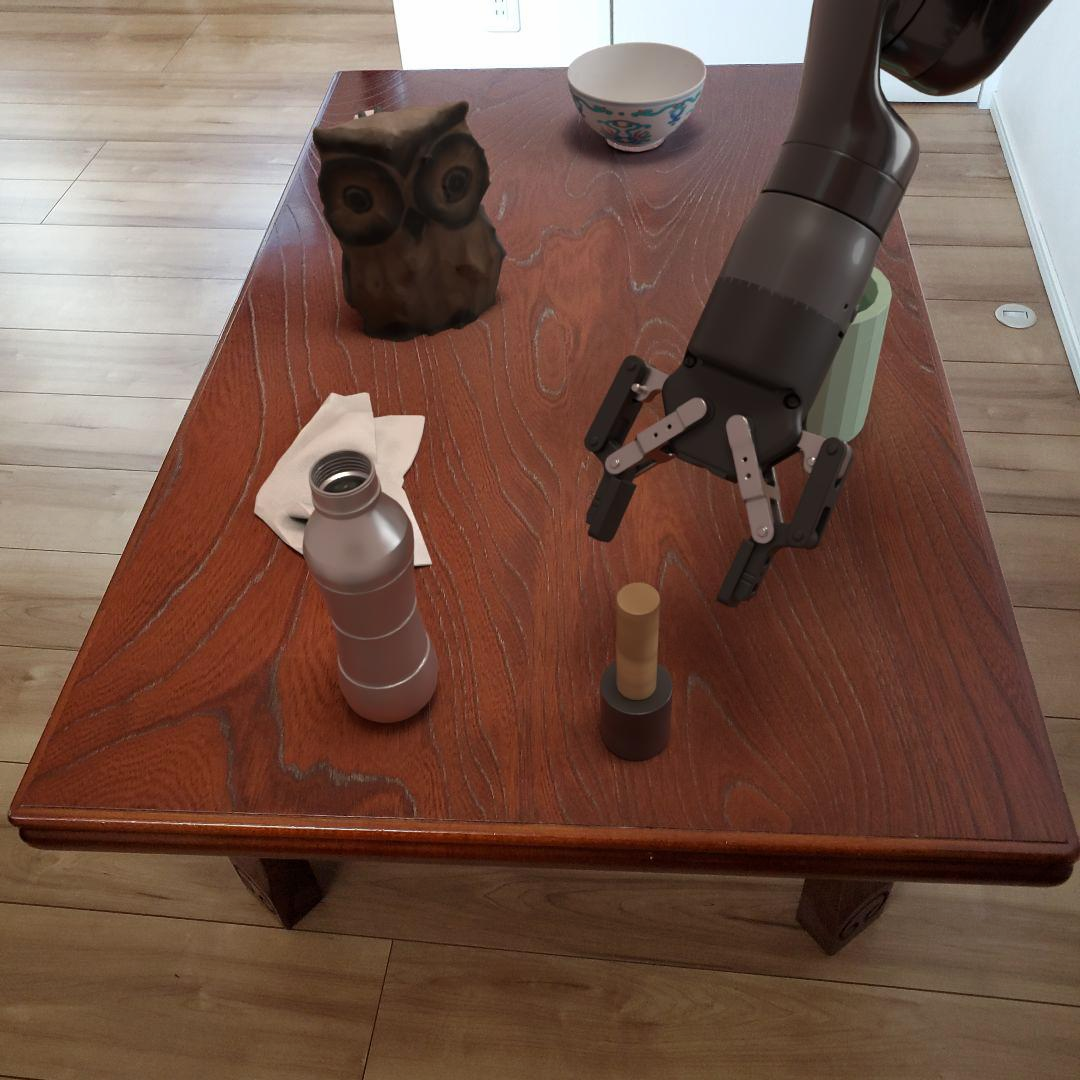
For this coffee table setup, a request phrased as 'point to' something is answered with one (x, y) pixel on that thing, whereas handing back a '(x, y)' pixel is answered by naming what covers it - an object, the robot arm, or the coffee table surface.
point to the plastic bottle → (369, 588)
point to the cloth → (335, 429)
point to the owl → (410, 219)
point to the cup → (853, 368)
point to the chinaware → (636, 90)
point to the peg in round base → (636, 680)
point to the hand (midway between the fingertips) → (661, 571)
